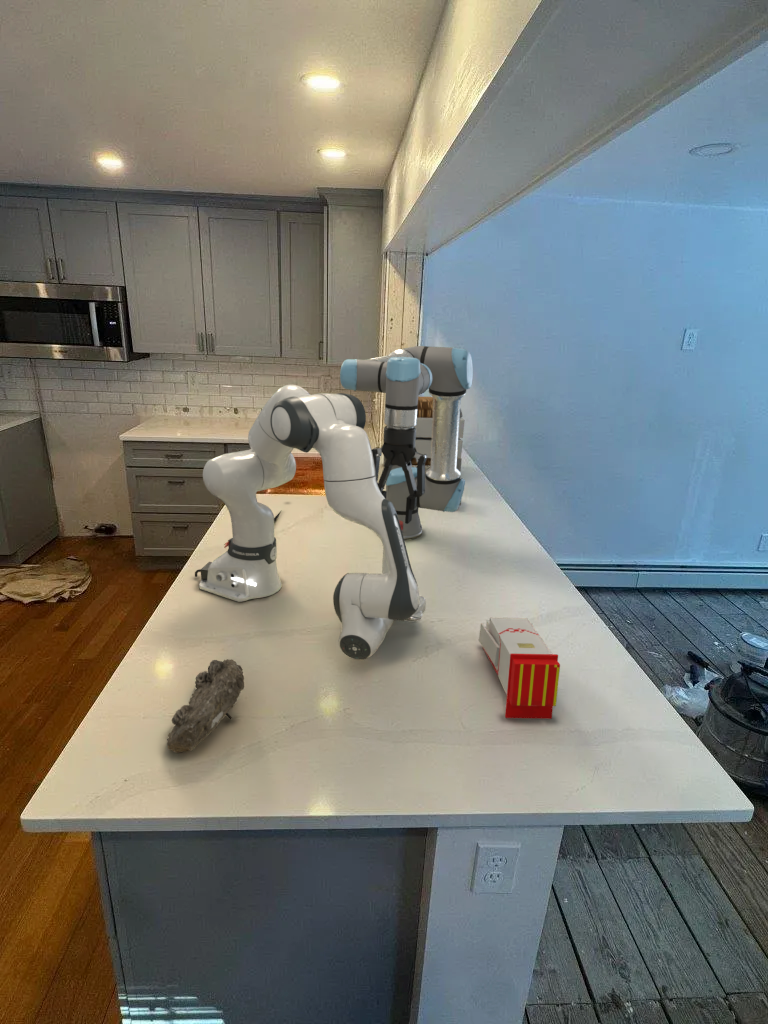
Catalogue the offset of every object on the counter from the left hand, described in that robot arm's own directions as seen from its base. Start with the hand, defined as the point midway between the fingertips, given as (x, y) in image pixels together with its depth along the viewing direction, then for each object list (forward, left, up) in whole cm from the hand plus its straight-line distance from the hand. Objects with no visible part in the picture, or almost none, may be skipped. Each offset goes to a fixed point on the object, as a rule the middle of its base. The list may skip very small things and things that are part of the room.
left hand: (392, 587), depth 147 cm
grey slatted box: (-23, +132, -7) cm, 135 cm away
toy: (+33, -18, -7) cm, 38 cm away
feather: (-59, +54, -7) cm, 80 cm away
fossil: (-21, -51, -7) cm, 56 cm away
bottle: (0, -1, -7) cm, 7 cm away
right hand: (0, -1, +19) cm, 19 cm away
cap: (0, -1, +18) cm, 18 cm away
